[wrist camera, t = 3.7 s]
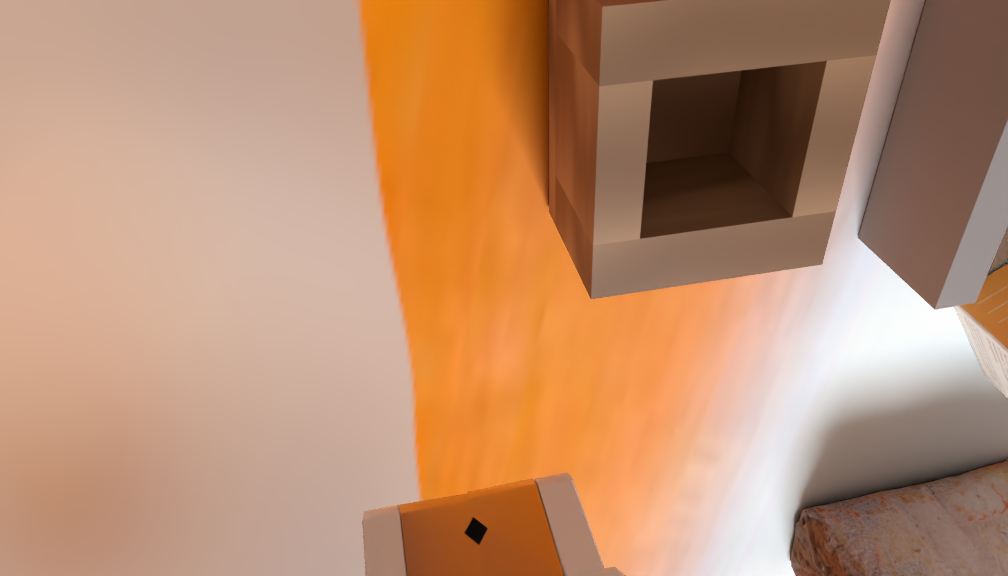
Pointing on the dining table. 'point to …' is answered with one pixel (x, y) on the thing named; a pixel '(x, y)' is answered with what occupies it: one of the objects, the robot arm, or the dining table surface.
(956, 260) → the backstop wall
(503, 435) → the dining table surface
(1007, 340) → the small box
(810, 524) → the grey boxy piece
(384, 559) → the robot arm
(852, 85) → the walnut block
